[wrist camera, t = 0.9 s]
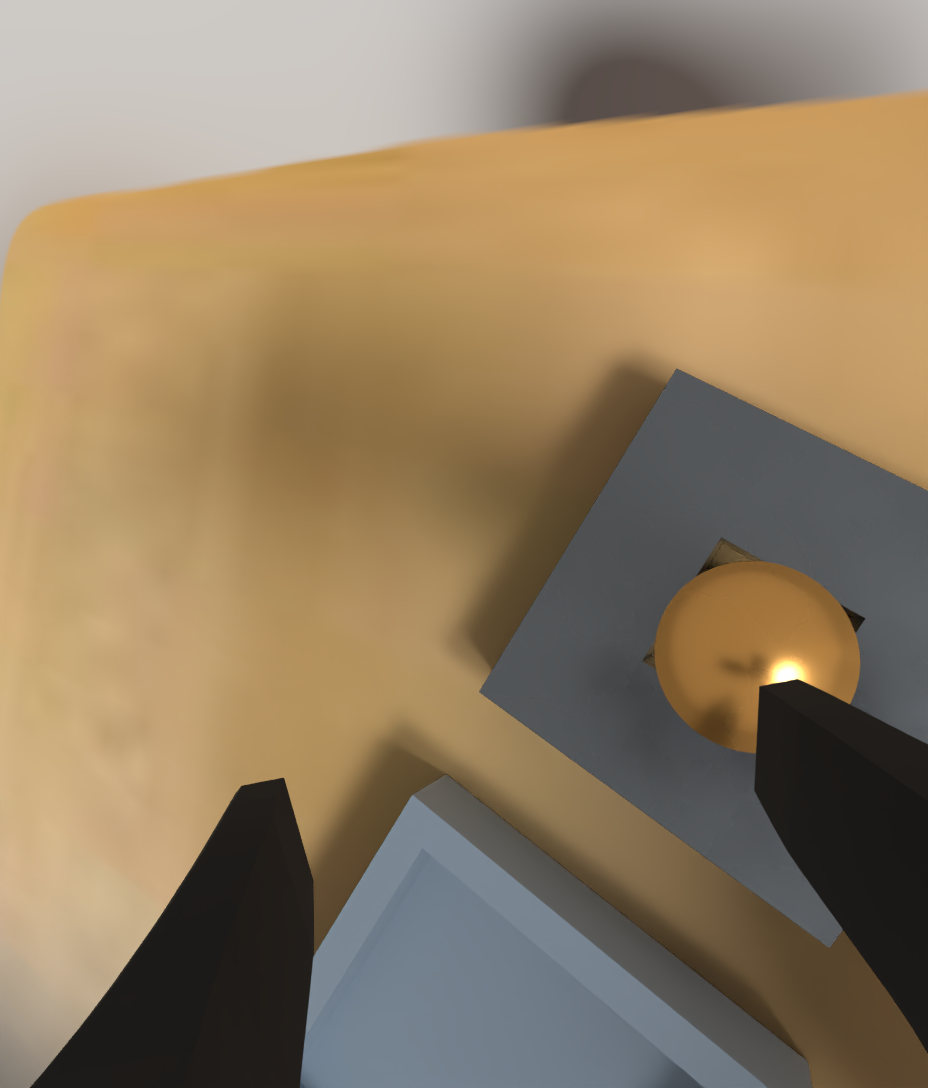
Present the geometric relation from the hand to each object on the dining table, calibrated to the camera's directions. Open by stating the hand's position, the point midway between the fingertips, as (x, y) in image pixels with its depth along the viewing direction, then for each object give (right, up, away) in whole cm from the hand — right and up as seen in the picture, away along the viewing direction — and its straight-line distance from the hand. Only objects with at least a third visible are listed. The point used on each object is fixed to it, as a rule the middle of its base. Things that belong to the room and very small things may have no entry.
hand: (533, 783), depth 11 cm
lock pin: (+8, +1, +13) cm, 15 cm away
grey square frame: (+8, +1, +13) cm, 15 cm away
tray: (0, -14, +14) cm, 20 cm away
